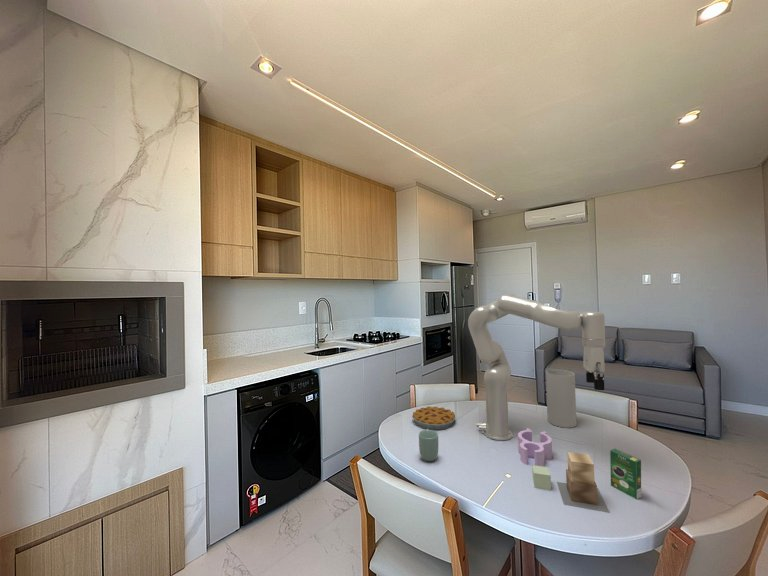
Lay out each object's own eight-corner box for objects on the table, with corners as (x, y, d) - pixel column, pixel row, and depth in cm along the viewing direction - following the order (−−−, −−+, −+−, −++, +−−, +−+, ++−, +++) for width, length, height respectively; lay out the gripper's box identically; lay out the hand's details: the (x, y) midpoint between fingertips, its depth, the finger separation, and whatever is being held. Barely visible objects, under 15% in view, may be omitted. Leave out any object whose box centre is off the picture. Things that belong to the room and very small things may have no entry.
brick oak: (572, 480, 97) (571, 461, 98) (567, 470, 103) (567, 451, 103) (594, 484, 95) (593, 464, 95) (589, 473, 101) (588, 454, 101)
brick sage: (534, 491, 104) (533, 472, 104) (532, 482, 109) (532, 465, 109) (551, 493, 103) (550, 475, 103) (548, 485, 107) (548, 467, 107)
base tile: (563, 508, 96) (563, 504, 96) (556, 485, 107) (556, 481, 107) (610, 517, 91) (610, 512, 91) (598, 491, 103) (597, 488, 103)
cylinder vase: (576, 420, 158) (574, 371, 158) (576, 430, 147) (574, 377, 147) (548, 416, 164) (547, 368, 165) (546, 425, 154) (544, 374, 154)
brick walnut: (571, 500, 97) (570, 481, 97) (566, 487, 104) (565, 469, 104) (597, 505, 95) (597, 485, 95) (591, 491, 101) (590, 472, 101)
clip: (549, 474, 114) (549, 454, 114) (513, 464, 120) (512, 446, 120) (553, 449, 131) (552, 433, 131) (521, 442, 137) (520, 426, 137)
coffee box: (643, 501, 98) (641, 459, 98) (637, 504, 97) (636, 461, 97) (615, 486, 105) (614, 447, 105) (610, 488, 104) (608, 449, 104)
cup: (440, 455, 128) (439, 430, 129) (437, 465, 121) (436, 439, 121) (421, 452, 131) (420, 428, 131) (417, 462, 124) (416, 436, 124)
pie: (429, 410, 177) (428, 401, 177) (463, 421, 162) (463, 411, 162) (404, 423, 161) (403, 413, 161) (439, 435, 146) (439, 425, 146)
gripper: (576, 339, 134) (578, 379, 133) (589, 346, 117) (591, 392, 117) (597, 339, 131) (598, 380, 131) (613, 347, 115) (614, 393, 115)
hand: (595, 385), depth 124 cm, fingers open, 9 cm apart
